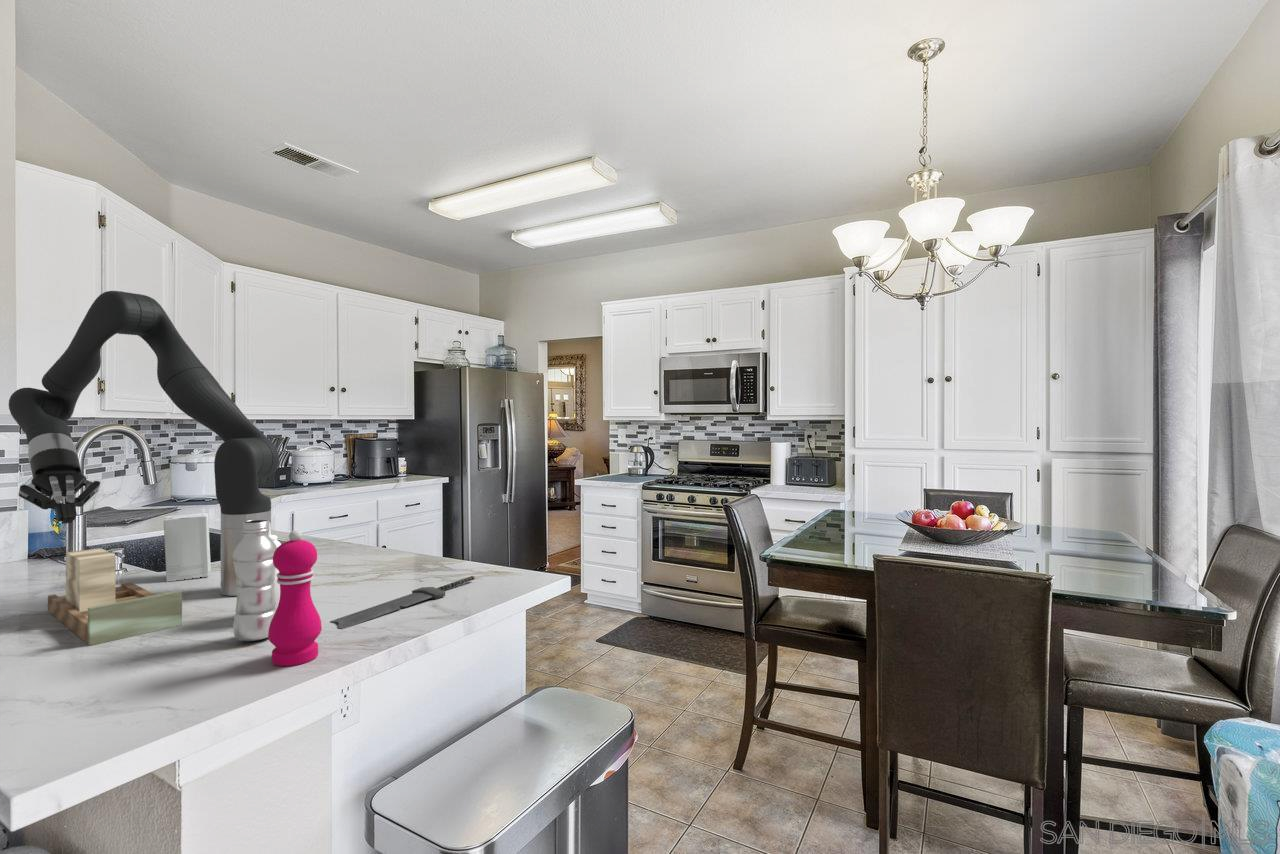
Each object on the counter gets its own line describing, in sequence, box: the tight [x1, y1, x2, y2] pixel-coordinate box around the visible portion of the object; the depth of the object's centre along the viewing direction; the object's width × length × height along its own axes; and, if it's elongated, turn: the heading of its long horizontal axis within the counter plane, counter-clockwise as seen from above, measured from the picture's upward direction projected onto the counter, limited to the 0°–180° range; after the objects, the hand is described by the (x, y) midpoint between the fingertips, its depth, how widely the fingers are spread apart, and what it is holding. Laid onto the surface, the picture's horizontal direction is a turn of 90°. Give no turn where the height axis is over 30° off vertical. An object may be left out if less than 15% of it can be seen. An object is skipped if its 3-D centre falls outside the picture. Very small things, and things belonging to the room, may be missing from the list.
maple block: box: [65, 547, 116, 612], centre depth 113 cm, size 10×5×10 cm, turn 54°
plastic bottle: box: [232, 520, 277, 642], centre depth 101 cm, size 6×7×20 cm
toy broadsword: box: [329, 575, 476, 630], centre depth 123 cm, size 7×35×2 cm, turn 151°
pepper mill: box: [267, 529, 323, 667], centre depth 93 cm, size 7×7×20 cm
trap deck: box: [47, 581, 183, 646], centre depth 112 cm, size 30×12×6 cm, turn 54°
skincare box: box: [163, 512, 212, 583], centre depth 141 cm, size 8×6×15 cm
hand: (67, 520), depth 123 cm, fingers closed
